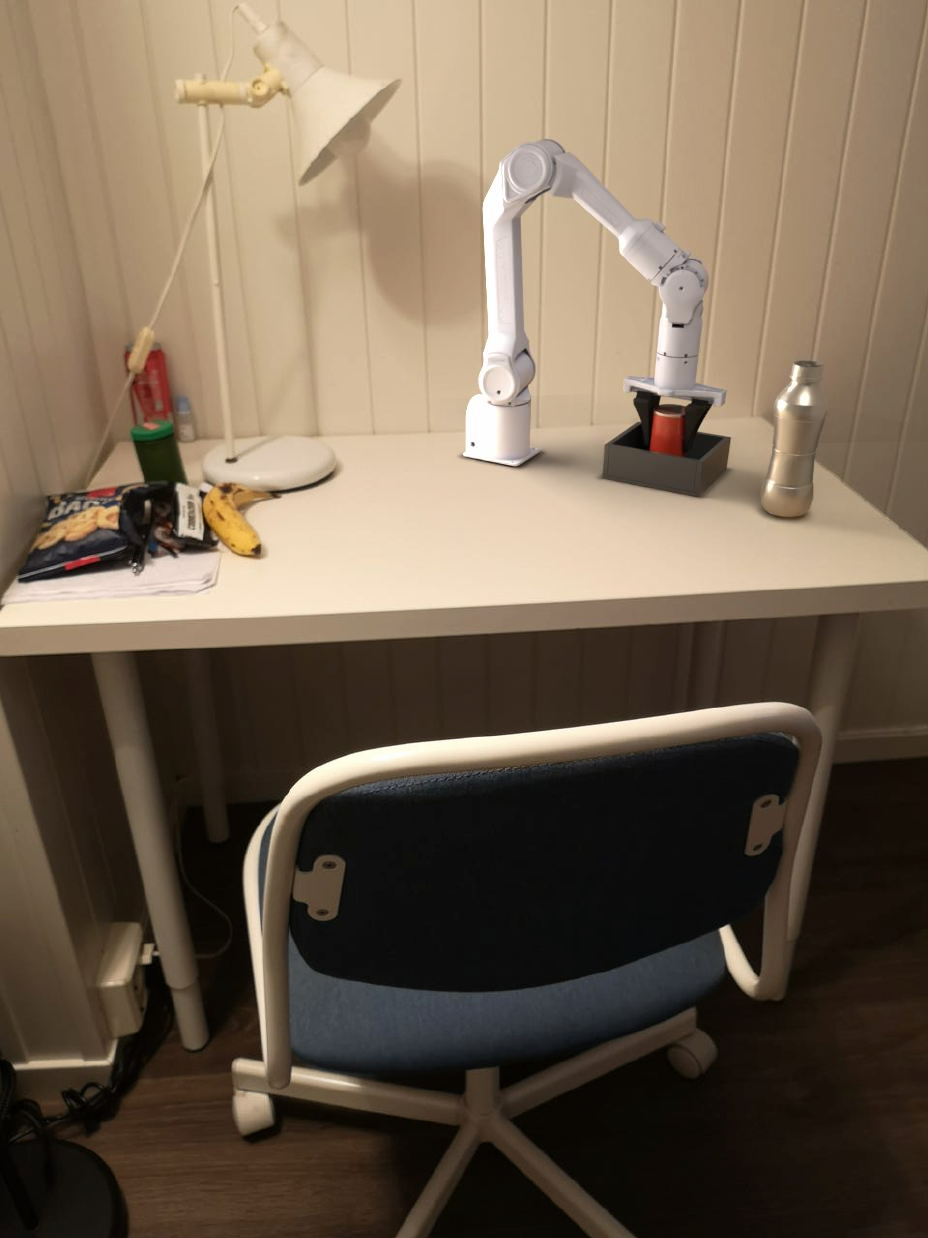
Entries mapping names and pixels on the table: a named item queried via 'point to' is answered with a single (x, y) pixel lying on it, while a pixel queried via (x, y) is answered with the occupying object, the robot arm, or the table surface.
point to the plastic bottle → (795, 441)
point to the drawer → (666, 462)
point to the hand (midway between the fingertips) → (667, 446)
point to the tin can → (668, 429)
